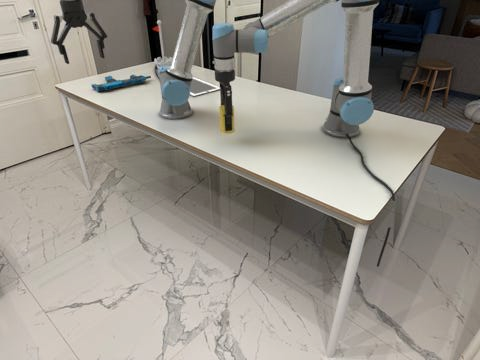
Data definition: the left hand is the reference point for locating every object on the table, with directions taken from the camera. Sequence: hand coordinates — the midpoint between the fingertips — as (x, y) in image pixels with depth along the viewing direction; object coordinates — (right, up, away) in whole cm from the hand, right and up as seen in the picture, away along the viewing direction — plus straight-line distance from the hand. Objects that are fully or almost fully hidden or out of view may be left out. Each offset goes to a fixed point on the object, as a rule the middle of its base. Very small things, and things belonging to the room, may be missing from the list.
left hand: (85, 60), depth 133 cm
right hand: (+56, -25, +5) cm, 61 cm away
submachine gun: (-12, +12, +75) cm, 77 cm away
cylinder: (+56, -27, +6) cm, 62 cm away
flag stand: (+7, +33, +106) cm, 112 cm away
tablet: (+32, +9, +70) cm, 78 cm away
